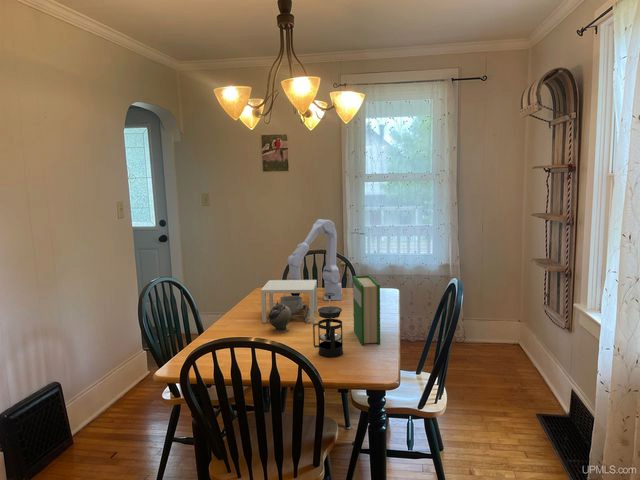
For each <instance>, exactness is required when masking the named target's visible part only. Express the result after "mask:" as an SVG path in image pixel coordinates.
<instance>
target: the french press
mask: <svg viewBox="0 0 640 480" xmlns="http://www.w3.org/2000/svg"><path fill="white" fill-rule="evenodd" d="M334 295H335V294H334V293H326V294H325V293H324V294H323V296H328V299H329V300H328V305H329V306H322V307H319V308H317V312H318V316H319V317H320V318H323V319H321V320H318V322H317V323H316V322H314V323H312V333H313V334H312V335H313V336H312V338H313V340H312V343H313V347H314V349H315V348H318V351H317V352H318V355H319V356H320V357H322V358H326V359H327V358H328V359H333V358H338V357H342V356H343V355H344V349H343V345H344V344H343V343H344V342H343V321H342V320H340V319H338V318H340V316H341V312H342V311H343V309H342V308H341V307H339V306H331V300H330V299H331V296H334ZM324 323H325V325H322V324H324ZM331 323H337V325H332V324H331ZM316 326H317V327H318V329H317V335H318V344H316V331H315V327H316ZM320 329H322V330H325V333H322V334H320ZM338 329H340V334H339V333H337V332H336V330H338Z"/></svg>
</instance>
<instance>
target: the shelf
mask: <svg viewBox="0 0 640 480" xmlns="http://www.w3.org/2000/svg"><path fill="white" fill-rule="evenodd" d="M317 280H318V279H301V280H290V279H274V280H273V279H272V280H271V279H269V280H268V281H267V282H266V283H265V285H264V286H263V287H262V288H261V289H260V295H261V296H260V297H261V298H260V300H261V320H262V321H261V323H263V324H266V323H267V322H268V323H270V322H269V321H268V317H267V316H268V315H267V313H268V312H267V294H268V300H269V302H268V303H269V304H268V305H269V312H270V311H271V310H272V308H273V307H275V305H274V302H275V301H274V294H291V293H300V294H308V295H309V298H308V299H309V300H308V301H309V310H308V313H307V316H306V319H305V321H304V322H305V323H306V324H308V321H309V323H310V324H314V323H315V312H318V283H317V282H318V281H317ZM284 296H285V295H283V296H282V297H284ZM280 302H281V300H280V301H279V302H278V304H281V303H280Z"/></svg>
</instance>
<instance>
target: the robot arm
mask: <svg viewBox="0 0 640 480" xmlns="http://www.w3.org/2000/svg"><path fill="white" fill-rule="evenodd" d="M335 225H336V224H335V223H334V222H333V221H332V220H331V219H322V218H319V219H316V221H315V222H314V223H313V225H312V228H311V230H310V231H309V233H308V234H307V236H306V238H305V240H304V241H303V242H300V243H299V244H297V247H296V248H295V250H294V251H293V252H292V254H290V255H288V258H287V260H286V263H287V264H288V266H289V267H288V270H289V280H302V279H301V278H302V277H301V275H302V274H301V265H303V259H304V257H305V256H306V255H307V253H308V252H309V250H310V245H312V243H313V242H314V240H315V239H316V238H317V236H319V235H321V234H324V235H325V237H326V253H325V254H326V256H325V257H326V259H325V266H324V267H323V271H322V273H321V278H322V279H323V280H324V281H323V282H324V294H326V293H334V294H335V295H334V296H331V299H330V301H341V300H342V297H343V291H342V282H340V280H341V275H340V269H339V268H338V265H337V250H338V249H337V246H338V245H337V244H338V233H337V230H336V227H335ZM300 295H301V293H290V296H300ZM323 296H324V295H323ZM323 301H329V299H328V296H324V298H323Z"/></svg>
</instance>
